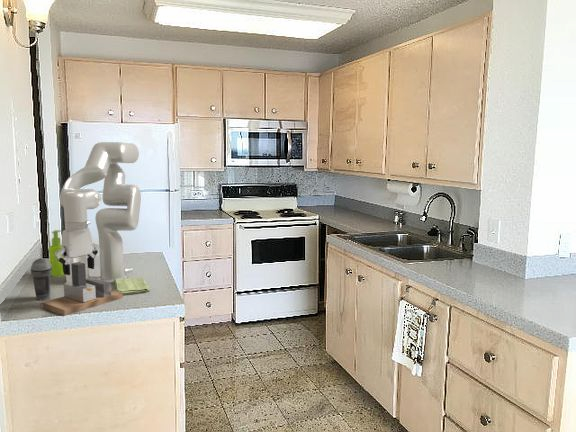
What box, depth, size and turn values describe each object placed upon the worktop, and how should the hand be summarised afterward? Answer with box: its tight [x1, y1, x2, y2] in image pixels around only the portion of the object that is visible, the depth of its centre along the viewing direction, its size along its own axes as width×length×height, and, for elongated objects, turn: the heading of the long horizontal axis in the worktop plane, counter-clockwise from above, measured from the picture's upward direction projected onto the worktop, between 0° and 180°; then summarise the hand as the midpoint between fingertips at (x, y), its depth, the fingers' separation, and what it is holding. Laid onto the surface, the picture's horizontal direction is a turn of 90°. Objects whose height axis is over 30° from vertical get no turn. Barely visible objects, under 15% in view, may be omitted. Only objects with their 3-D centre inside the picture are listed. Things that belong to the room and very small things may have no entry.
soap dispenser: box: [48, 229, 65, 277], centre depth 216 cm, size 6×7×20 cm
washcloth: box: [112, 277, 151, 296], centre depth 197 cm, size 13×18×3 cm
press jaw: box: [63, 262, 96, 302], centre depth 176 cm, size 5×13×13 cm, turn 56°
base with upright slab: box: [65, 255, 90, 283], centre depth 205 cm, size 9×9×12 cm
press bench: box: [41, 277, 124, 316], centre depth 178 cm, size 24×14×7 cm, turn 146°
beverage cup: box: [30, 247, 52, 301], centre depth 182 cm, size 7×7×20 cm
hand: (79, 271), depth 176 cm, fingers open, 9 cm apart
